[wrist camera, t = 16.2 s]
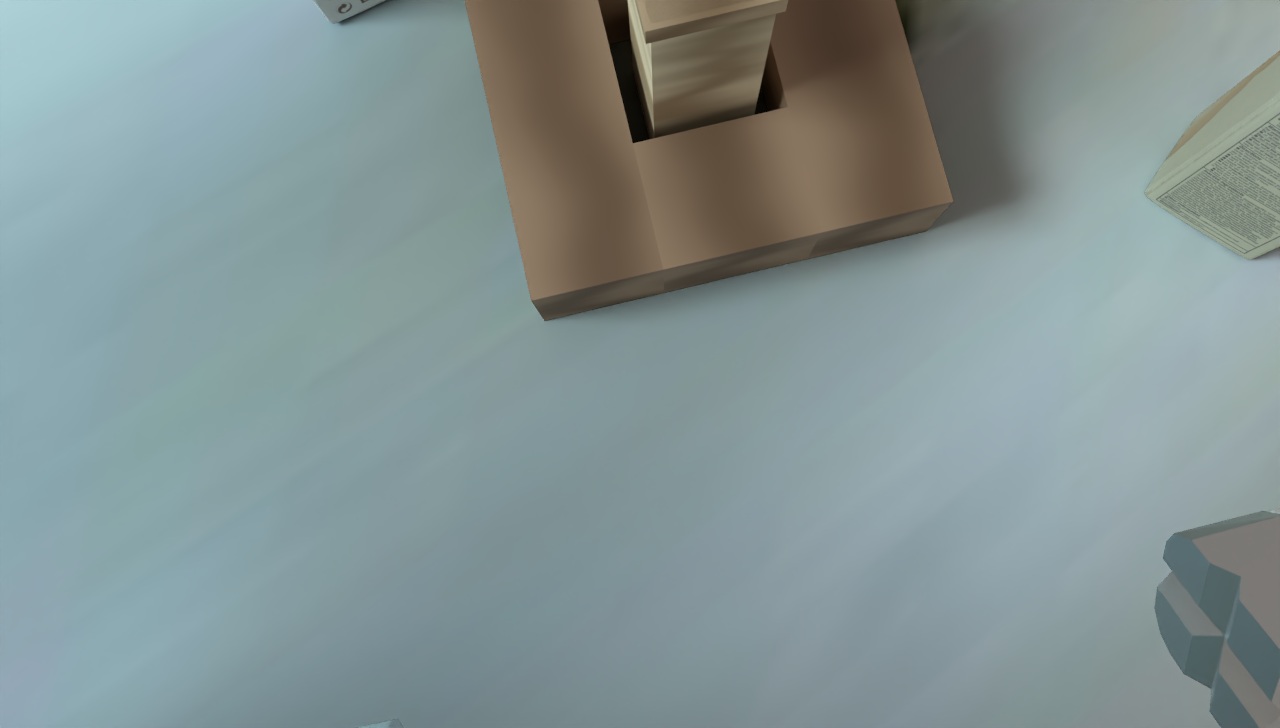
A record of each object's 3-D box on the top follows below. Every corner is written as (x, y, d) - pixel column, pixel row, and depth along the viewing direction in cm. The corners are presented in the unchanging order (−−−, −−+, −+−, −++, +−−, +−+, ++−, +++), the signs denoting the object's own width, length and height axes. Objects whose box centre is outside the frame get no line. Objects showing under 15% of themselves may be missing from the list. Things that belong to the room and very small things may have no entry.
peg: (651, 167, 42) (645, 31, 30) (627, 69, 43) (612, -101, 31) (754, 143, 42) (788, -2, 30) (729, 46, 43) (752, -134, 31)
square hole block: (544, 320, 41) (531, 300, 37) (465, -35, 43) (444, -90, 40) (926, 231, 41) (953, 201, 37) (826, -119, 44) (842, -182, 40)
